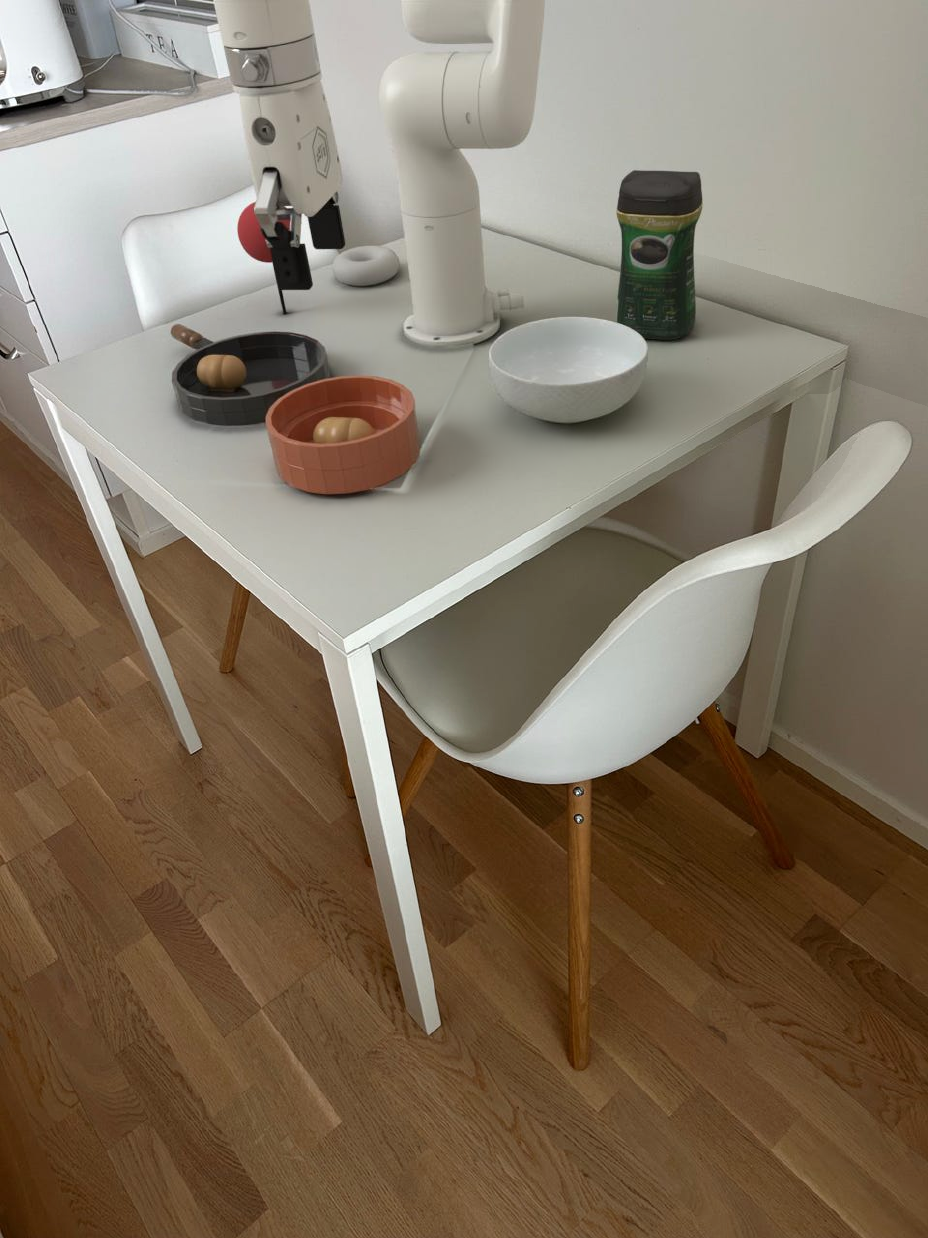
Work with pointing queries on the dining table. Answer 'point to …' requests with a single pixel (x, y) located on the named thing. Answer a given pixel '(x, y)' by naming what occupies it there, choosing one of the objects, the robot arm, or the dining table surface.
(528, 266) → the dining table surface
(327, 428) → the potato
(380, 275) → the donut
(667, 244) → the coffee jar
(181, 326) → the skillet handle
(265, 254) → the lollipop
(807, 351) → the dining table surface
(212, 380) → the potato
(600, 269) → the dining table surface
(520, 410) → the cereal bowl
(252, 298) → the dining table surface
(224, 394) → the skillet
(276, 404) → the bowl
